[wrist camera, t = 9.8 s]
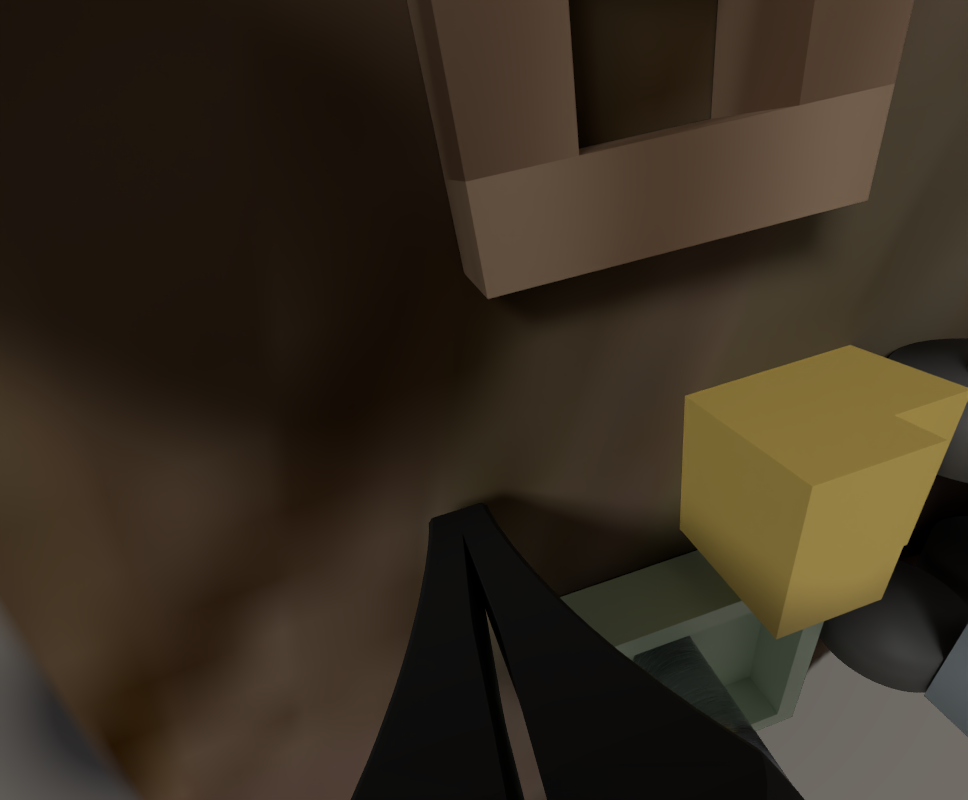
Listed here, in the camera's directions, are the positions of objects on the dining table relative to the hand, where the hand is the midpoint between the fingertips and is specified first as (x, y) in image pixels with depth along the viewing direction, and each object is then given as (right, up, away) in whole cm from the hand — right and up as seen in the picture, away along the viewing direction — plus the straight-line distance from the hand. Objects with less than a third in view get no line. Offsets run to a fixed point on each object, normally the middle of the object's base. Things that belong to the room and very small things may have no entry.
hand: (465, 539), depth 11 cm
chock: (+9, +2, +3) cm, 9 cm away
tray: (+7, -6, +6) cm, 11 cm away
